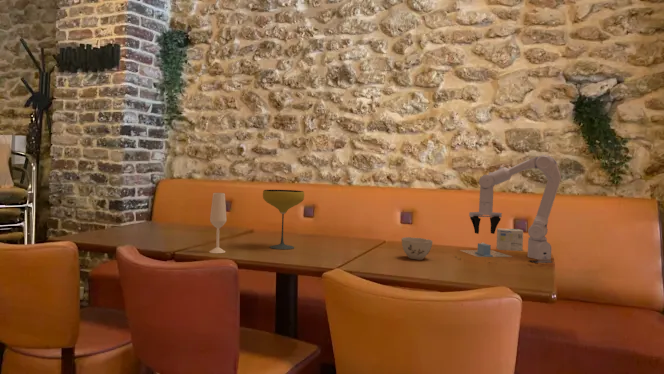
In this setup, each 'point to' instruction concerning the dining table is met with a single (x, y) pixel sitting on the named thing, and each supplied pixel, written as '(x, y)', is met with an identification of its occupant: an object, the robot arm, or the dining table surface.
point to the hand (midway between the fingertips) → (484, 233)
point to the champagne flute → (218, 217)
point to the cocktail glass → (283, 206)
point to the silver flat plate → (494, 253)
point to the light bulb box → (510, 239)
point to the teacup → (416, 247)
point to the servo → (484, 250)
